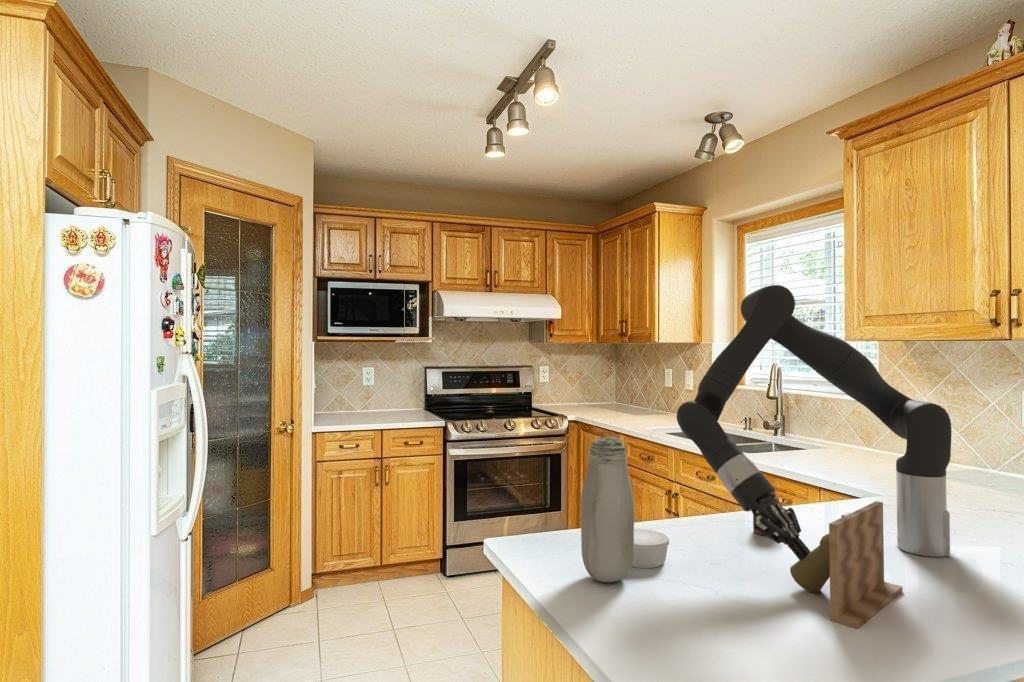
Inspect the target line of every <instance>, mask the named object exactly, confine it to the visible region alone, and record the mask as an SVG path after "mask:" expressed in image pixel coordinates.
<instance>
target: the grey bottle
mask: <svg viewBox="0 0 1024 682" xmlns="http://www.w3.org/2000/svg"><path fill="white" fill-rule="evenodd" d="M627 456H628V455H627V449H626V447H625V445H624V443H623V442H622V441H621V440H620V439H619V438H617V437H614V436H602V437H598V438H596V439H595V440H593V442H591V444H590V446H589V448H588V454H587V465H586V466H587V467H586V472H585V476H584V480H583V485H582V489H581V495H580V533H581V534H580V535H581V536H580V539H581V541H580V542H581V546H580V547H581V557H582V562H583V565H584V568H585V570H586V572H587V574H588V575H589V576H590V577H591V578H593V579H595V580H597V581H599V582H602V583H610V584H611V583H616V582H617V581H620V580H622V579H624V578H625V577H626V576H627V575H628V574H629V572H630V571H631V569H632V563H633V557H634V529H635V499H634V498H635V497H634V492H633V488H632V483H631V479H630V474H629V469H628V461H627V460H628V457H627Z"/></svg>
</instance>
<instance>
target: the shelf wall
mask: <svg viewBox="0 0 1024 682" xmlns="http://www.w3.org/2000/svg"><path fill="white" fill-rule="evenodd" d="M849 513H850V514H848V515H846V516H844V517H842V518H841V517H840V518H838V519H835V520H834V521H832V522H830V523H828V534H829V553H830V577H829V594H830V595H829V611H830V612H829V613H830V616H829V617H830V621H833V622H836V623H839V624H842V625H845V626H847V627H851V628H854V629H857V630H858V629H860V628H862V626H863V625H864V624H866V623H867V622H868V621H869V620H871V619H872V618H873V617H874V616H875V615H876V614H877V613H879V612H880V611H882V610H883V609H884V608H885V607H886V606H888V605H889V604H890V603H891V602H892V601H893V600H895V599H896V598H897V597H898V596H899V595H901V594H902V593H903V586H902V585H898V584H894V583H890V582H888V581H885V559H884V558H885V556H884V555H885V550H884V544H885V543H884V539H885V538H884V502H883V501H878V500H877V501H873V502H871V503H870V504H867V505H866V506H863V507H861V508H858V509H857V510H855V511H852V512H849Z"/></svg>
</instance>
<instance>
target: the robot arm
mask: <svg viewBox="0 0 1024 682" xmlns="http://www.w3.org/2000/svg"><path fill="white" fill-rule="evenodd" d="M795 307H796V300H795V296H794V294H793V292H791V290H790V289H789V288H788V287H785V286H783V285H780V284H769V285H766V286H763V287H761V288H758V289H757V290H755V291H753V292H751V293H750V294H747V296H745V297H744V298H743V300H742V301H741V303H740V312H741V313H740V314H741V316H742V318H743V320H744V321H745V324H743V326H742V328H741V329H740V330H739V332H738V334H737V335H736V336H735V337H734V338H733V339H732V340H731V342H730V343H729V344H728V345H727V346H726V347H725V348H724V349H723V350H722V351H721V352H720V354H718V356H717V357H716V358H715V360H713V363H711V365H710V367H708V370H707V371H706V373H705V374H704V376H703V377H702V379H701V380H700V382H699V384H698V387H697V394H696V396H695V398H694V400H688V401H685V402H683V403H682V404H681V405H680V406H678V409H677V411H676V421H677V425H678V426H679V428H680V430H681V432H682V433H683V435H684V436H685V437H686V438H687V439H690V440H691V441H692V442H693V443H694V445H695V446H696V447H697V448H698V450H700V453H701V454H702V457H703V458H704V459H705V461H706V462H707V463H708V465H709V466H710V467H711V469H712V470H713V471H714V473H715V474H716V475H717V477H718V479H720V482H721V483H722V485H723V486H724V488H725V489H726V490H727V491H728V492H729V494H730V495H731V496H732V497H733V499H734V500H735V501H736V502H737V504H738V506H740V507H741V509H742V510H743V511H744V512H752V516H753V515H754V516H755V517H756V518H757V522H755V523H754V524H752V526H753V525H754V527H755V528H756V529H757V530H759V531H760V532H762V533H763V534H765V535H766V536H765V535H764V536H765V537H768V538H769V539H771V540H773V541H774V542H776V543H777V544H778V545H779V544H781V543H782V544H783V545H786V546H787V547H788V548H789V549H790V550H791V551H792V552H793V554H794V555H795V556H796V558H797V559H798V561H799V560H800V561H801V560H802V559H803V558H805V557H806V556H807V555H808V554H809V553H810V552H811V551H812V550H810V549H809V547H808V546H807V545H806V544H805V542H804V541H803V540H802V539H801V538H800V533H801V532H802V529H801V525H800V523H799V521H798V518H797V514H796V511H795V510H794V509H793V508H792V507H789V508H787V509H786V508H785V507H783V506H782V504H781V503H780V501H779V502H778V501H777V500H776V499H775V498H774V497H773V494H774V493H776V487H774V485H773V484H772V483H771V482H770V481H769V480H768V478H767V477H766V476H765V475H764V474H763V472H761V470H760V469H759V468H758V467H757V466H756V464H755V463H754V462H753V461H752V460H751V459H750V458H749V457H748V456H747V455H745V453H744V452H743V451H742V449H740V447H739V446H738V445H737V444H736V442H735V441H734V440H733V439H732V438H731V437H729V435H728V434H727V433H726V431H725V430H724V428H723V427H722V426H721V424H720V423H719V419H720V417H721V415H722V413H723V410H724V408H725V406H726V403H727V402H728V400H729V399H730V398H731V396H732V395H733V393H734V392H735V390H736V389H737V387H738V385H739V384H740V382H741V381H742V379H743V377H744V376H745V375H746V373H747V371H748V370H749V368H750V367H751V365H752V364H753V362H754V361H755V360H756V358H757V357H758V355H759V354H760V353H761V351H762V350H763V349H764V347H766V346H767V344H768V342H769V341H770V340H772V341H774V342H775V343H777V344H778V345H781V346H782V347H784V348H785V349H786V350H788V351H789V352H790V353H791V354H792V355H794V356H795V357H797V359H799V360H800V361H801V362H802V363H805V364H806V365H807V366H809V368H811V369H812V370H814V371H815V372H816V373H817V374H818V375H819V376H821V377H822V378H823V379H825V380H826V381H827V382H829V383H830V384H831V385H833V386H835V387H836V388H837V389H839V390H840V391H841V392H843V393H844V394H846V395H847V396H848V397H850V398H852V399H853V400H854V401H856V402H857V403H860V405H863V406H864V407H865V408H866V409H868V411H870V412H871V413H873V415H875V416H876V418H878V420H879V421H881V422H882V423H883V424H884V425H885V426H886V427H887V428H888V429H889V430H890V431H892V432H893V433H894V434H895V435H896V436H898V437H900V438H901V439H904V440H906V448H905V453H904V455H902V456H900V457H898V458H897V459H896V461H895V471H896V472H895V475H896V476H895V479H896V481H895V482H896V533H897V534H896V540H897V541H896V542H897V543H896V544H897V545H896V546H897V547H898V549H900V550H902V551H903V552H906V553H910V554H913V555H917V556H925V557H937V558H939V557H940V558H941V557H949V558H950V557H951V527H950V526H951V524H950V523H951V521H950V519H951V518H950V517H951V515H950V512H949V511H948V510H947V508H948V507H947V505H948V504H947V468H948V466H949V464H950V462H951V456H952V455H951V454H952V452H951V451H952V432H953V431H952V422H951V418H950V415H949V414H948V412H947V410H946V409H945V408H944V407H942V406H941V405H939V404H936V403H933V402H930V401H929V402H927V401H922V400H921V401H920V400H915V399H912V398H910V397H909V396H907V395H905V394H903V393H901V392H900V391H899V390H898V389H896V388H894V387H892V385H890V384H889V383H888V382H886V381H885V380H884V378H883V377H882V375H881V374H880V372H879V371H878V369H877V368H876V367H875V365H874V364H873V363H872V361H870V359H869V358H868V357H867V356H865V355H864V354H863V353H861V352H860V351H859V350H858V349H856V348H855V347H854V346H852V345H851V344H850V343H848V342H847V341H845V340H843V339H841V338H840V337H837V336H834V335H833V334H831V333H828V332H825V331H822V330H819V329H817V328H815V327H812V326H809V325H808V324H806V323H804V322H802V321H801V320H799V319H797V318H796V317H795V316H794V315H793V314H794V311H795Z"/></svg>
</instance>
